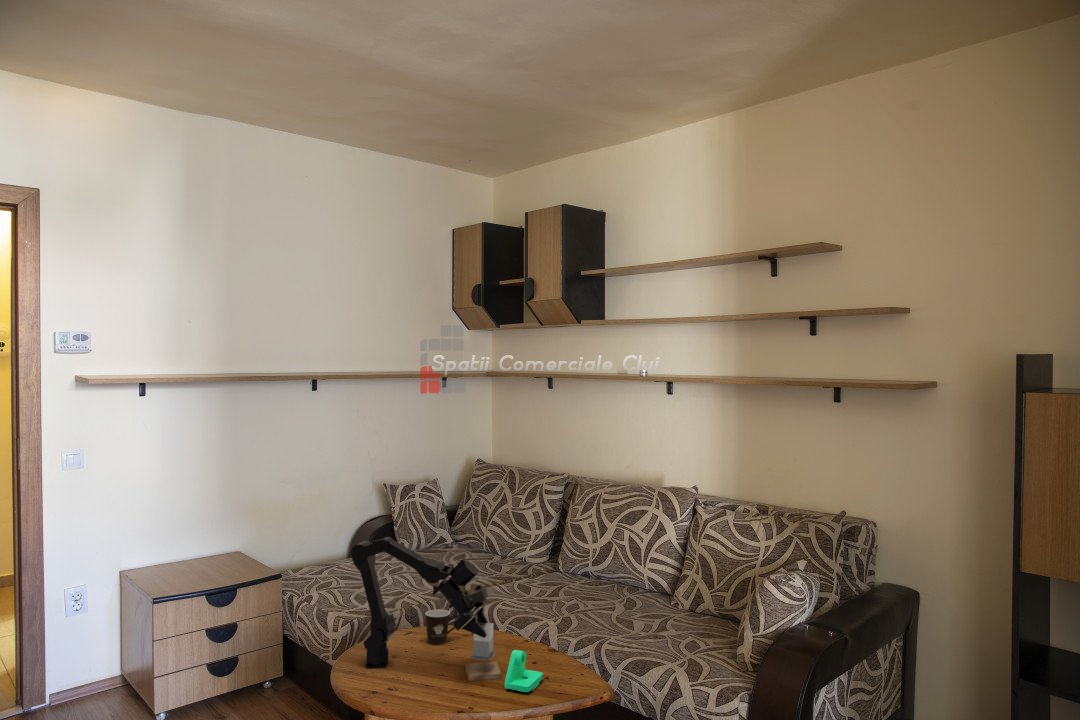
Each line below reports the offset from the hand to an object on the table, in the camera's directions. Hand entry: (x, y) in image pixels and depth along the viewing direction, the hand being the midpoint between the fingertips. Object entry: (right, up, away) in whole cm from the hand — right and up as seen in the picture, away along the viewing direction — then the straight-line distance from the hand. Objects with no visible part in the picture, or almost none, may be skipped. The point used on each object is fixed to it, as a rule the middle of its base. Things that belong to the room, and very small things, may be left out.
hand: (487, 633), depth 230 cm
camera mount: (+12, -13, -9) cm, 20 cm away
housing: (-2, -7, 0) cm, 7 cm away
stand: (-1, -12, 0) cm, 12 cm away
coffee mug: (-18, -13, +27) cm, 35 cm away
